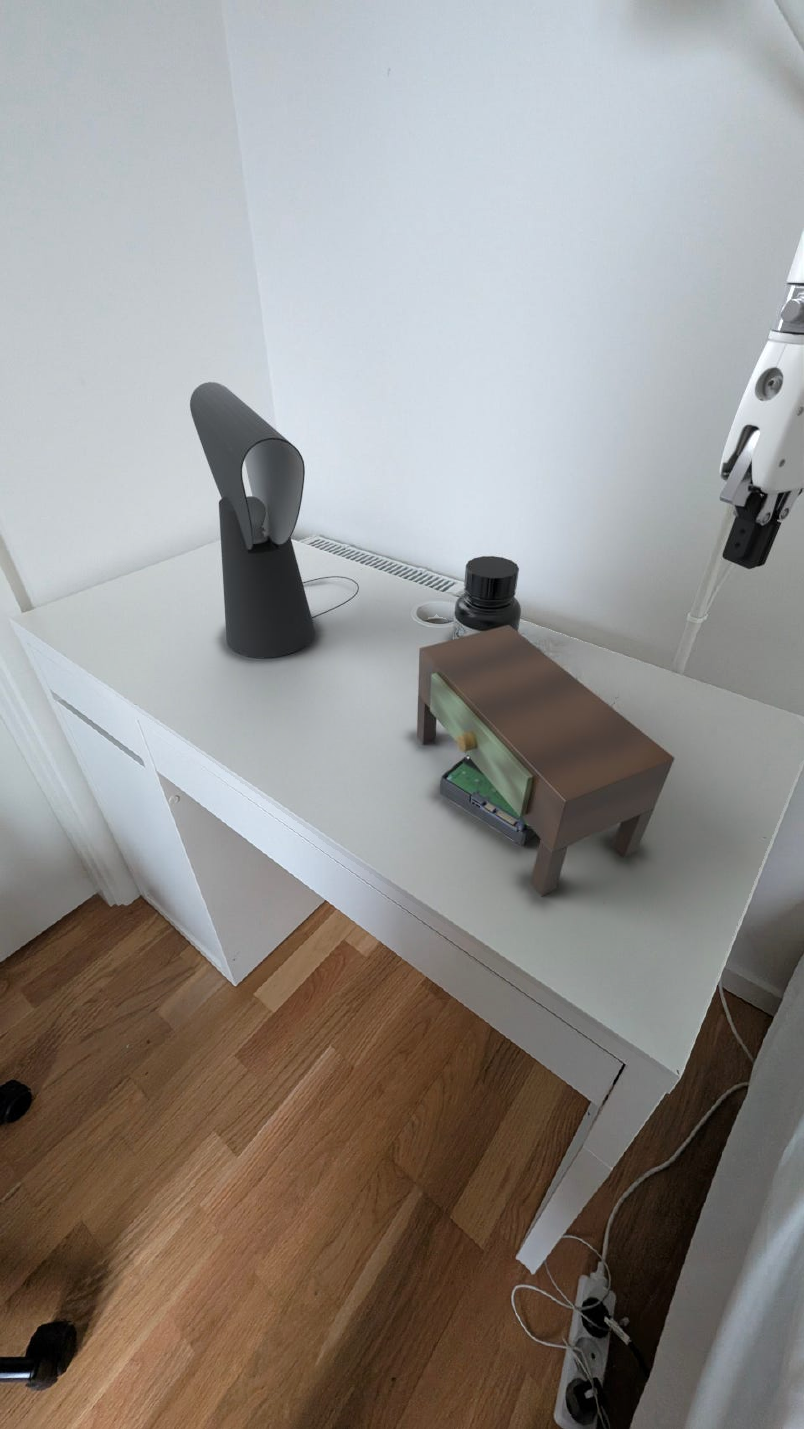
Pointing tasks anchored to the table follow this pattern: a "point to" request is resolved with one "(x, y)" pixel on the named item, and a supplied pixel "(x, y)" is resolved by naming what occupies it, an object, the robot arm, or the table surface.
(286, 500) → the table lamp
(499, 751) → the drawer unit
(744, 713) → the table surface
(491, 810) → the disk drive
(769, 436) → the robot arm
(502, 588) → the ink bottle
